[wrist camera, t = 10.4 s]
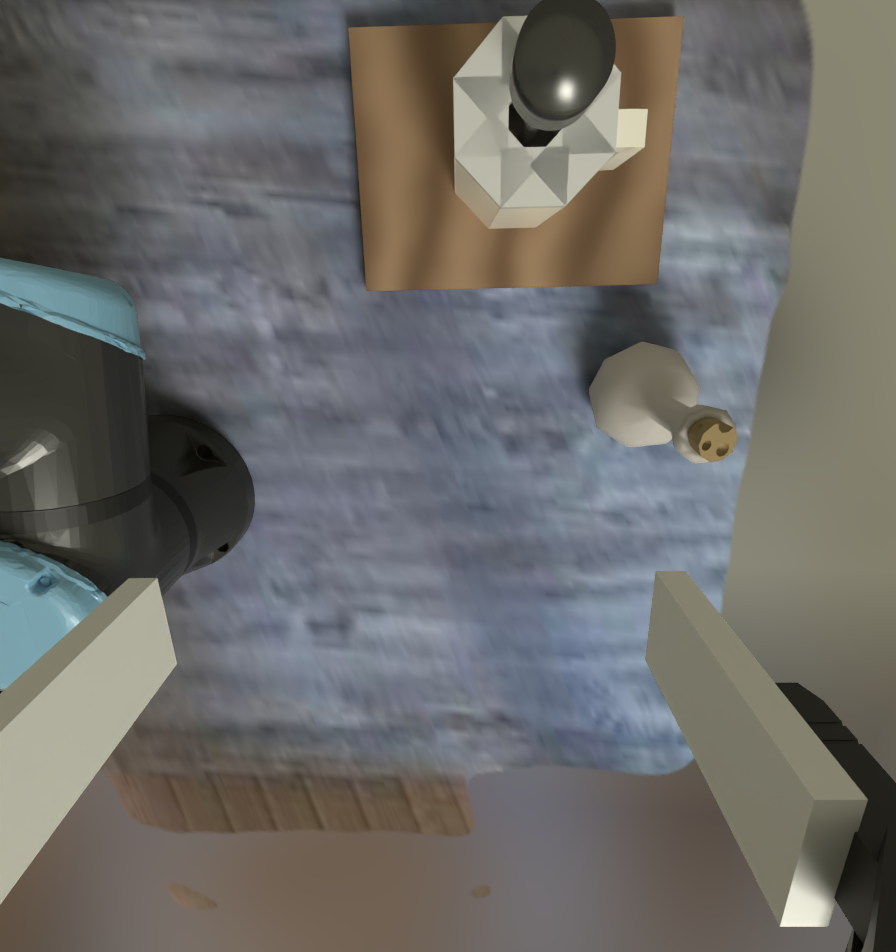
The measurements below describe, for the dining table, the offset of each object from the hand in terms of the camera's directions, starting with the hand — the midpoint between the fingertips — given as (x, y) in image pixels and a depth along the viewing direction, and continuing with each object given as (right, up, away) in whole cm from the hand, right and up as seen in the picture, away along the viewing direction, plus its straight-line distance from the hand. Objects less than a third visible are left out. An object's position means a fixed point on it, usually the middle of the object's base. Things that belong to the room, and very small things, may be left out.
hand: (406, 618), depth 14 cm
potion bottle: (+18, +12, +35) cm, 41 cm away
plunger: (+6, +27, +26) cm, 38 cm away
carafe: (+7, +28, +27) cm, 40 cm away
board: (+6, +28, +29) cm, 41 cm away
